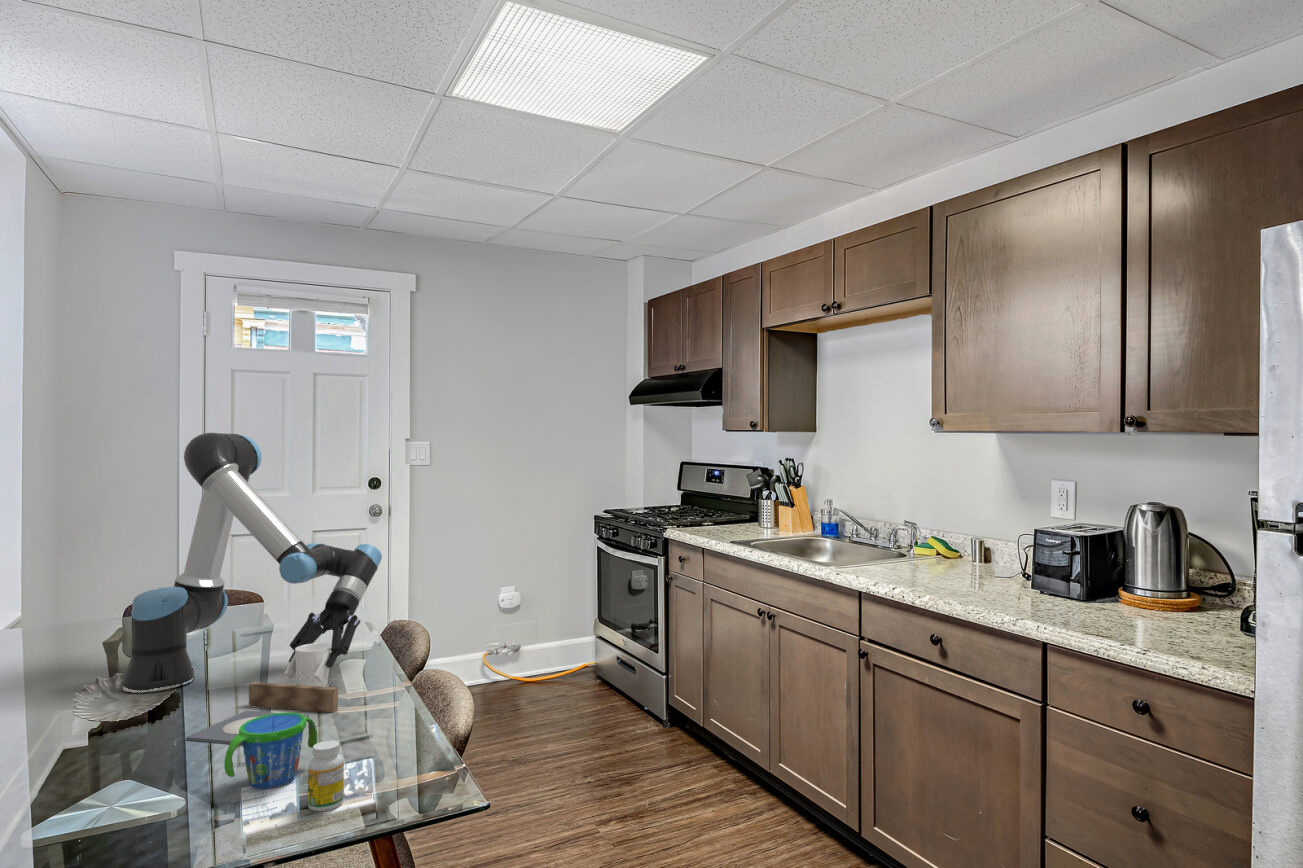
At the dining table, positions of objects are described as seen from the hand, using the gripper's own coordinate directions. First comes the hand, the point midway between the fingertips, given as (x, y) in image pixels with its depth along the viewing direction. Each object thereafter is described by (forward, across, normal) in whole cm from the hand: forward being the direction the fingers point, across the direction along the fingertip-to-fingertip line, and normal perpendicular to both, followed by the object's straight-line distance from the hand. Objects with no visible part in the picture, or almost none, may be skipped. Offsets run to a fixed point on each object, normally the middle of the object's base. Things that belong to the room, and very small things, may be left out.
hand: (303, 677), depth 177 cm
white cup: (0, 0, -5) cm, 5 cm away
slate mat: (+18, -4, +12) cm, 22 cm away
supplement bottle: (+37, -42, +32) cm, 64 cm away
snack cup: (+33, -27, +27) cm, 51 cm away
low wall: (+9, -4, +3) cm, 10 cm away
